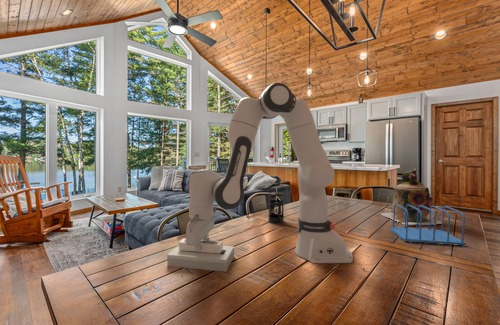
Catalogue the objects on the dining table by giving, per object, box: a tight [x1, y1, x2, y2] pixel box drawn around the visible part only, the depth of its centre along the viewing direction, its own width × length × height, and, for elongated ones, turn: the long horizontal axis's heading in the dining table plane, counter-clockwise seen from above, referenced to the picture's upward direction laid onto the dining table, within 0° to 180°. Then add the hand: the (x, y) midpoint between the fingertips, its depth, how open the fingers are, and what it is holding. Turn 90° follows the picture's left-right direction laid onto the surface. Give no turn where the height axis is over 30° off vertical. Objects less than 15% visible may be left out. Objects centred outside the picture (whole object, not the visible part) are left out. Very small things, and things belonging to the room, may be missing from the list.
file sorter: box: [390, 204, 467, 246], centre depth 119 cm, size 25×17×15 cm
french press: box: [268, 182, 285, 225], centre depth 145 cm, size 12×9×23 cm
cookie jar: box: [380, 168, 445, 226], centre depth 149 cm, size 25×25×32 cm
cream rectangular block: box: [178, 238, 224, 254], centre depth 92 cm, size 16×4×6 cm, turn 80°
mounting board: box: [166, 244, 235, 272], centre depth 92 cm, size 22×12×4 cm, turn 80°
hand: (201, 248), depth 92 cm, fingers closed on cream rectangular block, 4 cm apart
